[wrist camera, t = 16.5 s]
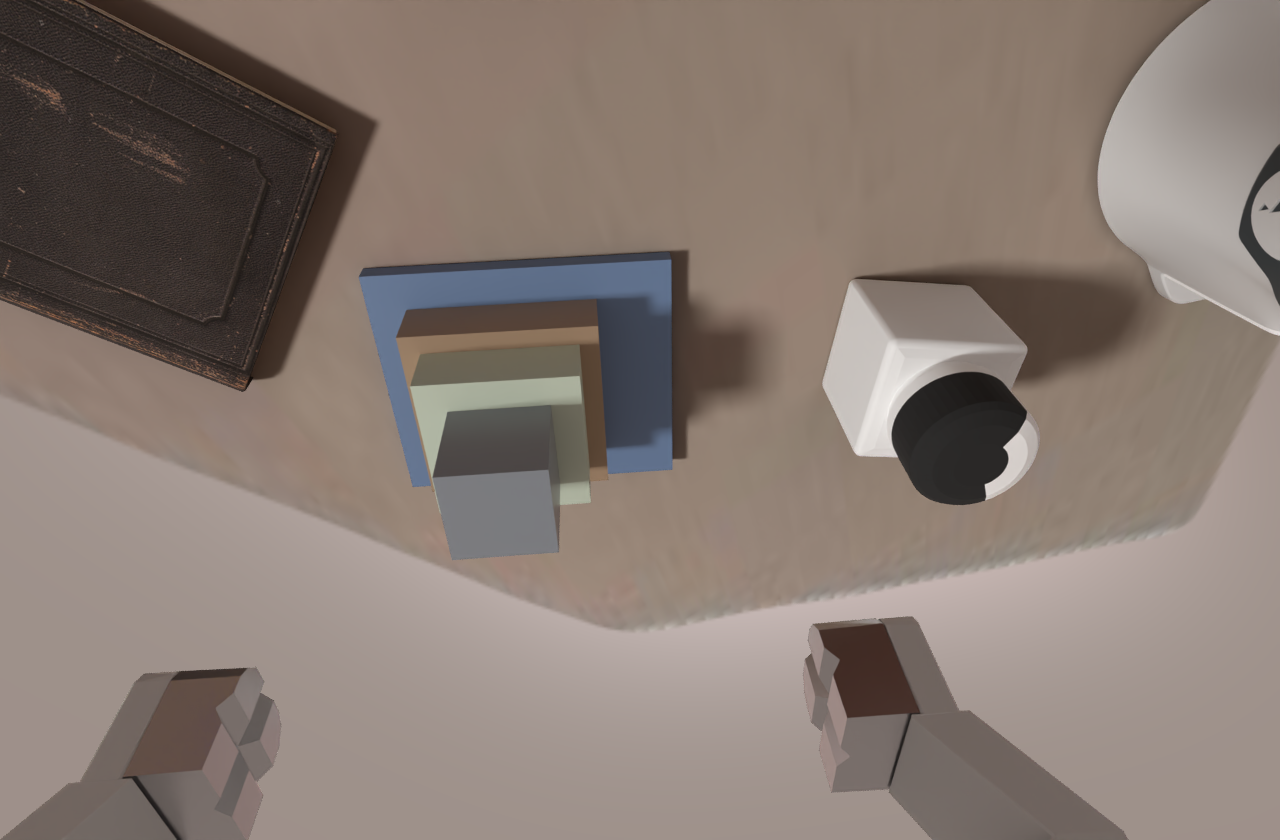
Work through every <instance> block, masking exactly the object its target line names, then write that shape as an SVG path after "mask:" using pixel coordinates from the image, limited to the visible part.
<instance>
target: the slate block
mask: <svg viewBox="0 0 1280 840" xmlns="http://www.w3.org/2000/svg"><path fill="white" fill-rule="evenodd" d="M432 479H433V483H434V487H435V491H436V495H437V500H438V504H439V508H440V512H441V516H442V520H443V524H444V529H445V533H446V537H447V541H448V545H449V549H450V554H451V558H452V560H459V559H473V558H487V557H500V556H514V555H528V554H542V553H555V552H559V523H560V477H559V469H558V460H557V452H556V443H555V435H554V426H553V418H552V409H551V405H544V406H528V407H513V408H498V409H482V410H467V411H452V412H447V416H446V420H445V424H444V429H443V433H442V437H441V442H440V446H439V450H438V455H437V459H436V464H435V468H434V472H433V477H432Z"/></svg>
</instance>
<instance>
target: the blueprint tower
mask: <svg viewBox="0 0 1280 840" xmlns="http://www.w3.org/2000/svg"><path fill="white" fill-rule="evenodd" d="M359 280H360V284H361V288H362V291H363V295H364V299H365V303H366V307H367V311H368V315H369V319H370V322H371V326H372V330H373V334H374V338H375V342H376V346H377V350H378V353H379V357H380V361H381V365H382V369H383V373H384V377H385V381H386V385H387V388H388V392H389V396H390V400H391V404H392V408H393V412H394V416H395V419H396V423H397V427H398V431H399V435H400V439H401V443H402V447H403V450H404V454H405V458H406V462H407V466H408V470H409V474H410V478H411V481H412V485H413V487H419V486H431V487H432V491H433V492H435V494H436V491H435V487H434V483H433V479H432V477H433V472H434V468H435V464H436V459H437V455H438V450H439V446H440V442H441V437H442V433H443V429H444V424H445V420H446V416H447V412H452V411H467V410H482V409H498V408H513V407H528V406H544V405H551V409H552V418H553V426H554V435H555V443H556V452H557V460H558V469H559V477H560V505H565V504H580V503H591V494H590V481H601V480H608V474H614V473H629V472H644V471H659V470H672V301H671V256H670V252H657V253H639V254H620V255H602V256H584V257H566V258H548V259H530V260H512V261H493V262H475V263H457V264H439V265H421V266H403V267H385V268H366V269H363V270H362V272H361V274H360V275H359ZM436 498H437V495H436ZM437 503H438V500H437ZM438 507H439V504H438ZM439 511H440V508H439ZM440 513H441V512H440Z"/></svg>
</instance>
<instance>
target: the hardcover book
mask: <svg viewBox="0 0 1280 840" xmlns="http://www.w3.org/2000/svg"><path fill="white" fill-rule="evenodd" d="M336 132H337V130H336V129H334V128H332V127H330V126H328V125H326V124H324V123H322V122H320V121H318V120H316V119H314V118H312V117H310V116H308V115H306V114H304V113H302V112H300V111H298V110H296V109H295V108H293V107H291V106H289V105H287V104H285V103H283V102H281V101H279V100H277V99H275V98H273V97H271V96H269V95H267V94H265V93H263V92H261V91H259V90H257V89H255V88H254V87H252V86H250V85H248V84H246V83H244V82H242V81H240V80H238V79H236V78H234V77H232V76H230V75H228V74H226V73H224V72H222V71H220V70H218V69H216V68H214V67H213V66H211V65H209V64H207V63H205V62H203V61H201V60H199V59H197V58H195V57H193V56H191V55H189V54H187V53H185V52H183V51H181V50H179V49H177V48H175V47H174V46H172V45H170V44H168V43H166V42H164V41H162V40H160V39H158V38H156V37H154V36H152V35H150V34H148V33H146V32H144V31H142V30H140V29H138V28H136V27H134V26H133V25H131V24H129V23H127V22H125V21H123V20H121V19H119V18H117V17H115V16H113V15H111V14H109V13H107V12H105V11H103V10H101V9H99V8H97V7H95V6H93V5H92V4H90V3H88V2H86V1H84V0H0V300H2V301H5V302H7V303H10V304H12V305H15V306H18V307H20V308H23V309H26V310H28V311H31V312H33V313H36V314H39V315H41V316H44V317H47V318H49V319H52V320H55V321H57V322H60V323H62V324H65V325H68V326H70V327H73V328H76V329H78V330H81V331H84V332H86V333H89V334H91V335H94V336H97V337H99V338H102V339H105V340H107V341H110V342H113V343H115V344H118V345H120V346H123V347H126V348H128V349H131V350H134V351H136V352H139V353H141V354H144V355H147V356H149V357H152V358H155V359H157V360H160V361H163V362H165V363H168V364H170V365H173V366H176V367H178V368H181V369H184V370H186V371H189V372H192V373H194V374H197V375H199V376H202V377H205V378H207V379H210V380H213V381H215V382H218V383H221V384H223V385H226V386H228V387H231V388H234V389H236V390H239V391H242V392H243V391H245V390H246V389H247V387H248V386H249V384H250V382H251V381H252V379H253V377H251V376H250V375H251V372H252V369H253V367H254V364H255V361H256V358H257V356H258V353H259V350H260V348H261V345H262V342H263V339H264V337H265V334H266V331H267V328H268V326H269V323H270V320H271V317H272V315H273V312H274V309H275V307H276V304H277V301H278V298H279V296H280V293H281V290H282V287H283V285H284V282H285V279H286V276H287V274H288V271H289V268H290V265H291V263H292V260H293V257H294V255H295V252H296V249H297V246H298V244H299V241H300V238H301V235H302V233H303V230H304V227H305V224H306V222H307V219H308V216H309V214H310V211H311V208H312V205H313V203H314V200H315V197H316V194H317V192H318V189H319V186H320V183H321V181H322V178H323V175H324V173H325V170H326V167H327V164H328V162H329V159H330V156H331V153H332V151H333V148H334V145H335V142H336V140H337V137H338V134H337V133H336Z"/></svg>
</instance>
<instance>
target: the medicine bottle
mask: <svg viewBox="0 0 1280 840" xmlns="http://www.w3.org/2000/svg"><path fill="white" fill-rule="evenodd" d="M1027 351H1028V348H1027V346H1026V345H1025V343H1024V342H1023V341H1022V340H1021V339H1020V338H1019V337H1018V336H1017V335H1016V334H1015V333H1014V332H1013V331H1012V330H1011V329H1010V328H1009V327H1008V325H1007V324H1006V323H1005V322H1004V321H1003V320H1002V319H1001V318H1000V317H999V316H998V315H997V314H996V313H995V312H994V311H993V310H992V309H991V308H990V306H989V305H988V304H987V303H986V302H985V301H984V300H983V299H982V298H981V297H980V296H979V295H978V294H977V293H976V292H975V291H974V290H973V289H972V288H971V287H970V286H967V285H952V284H935V283H918V282H901V281H884V280H867V279H853V280H852V281H850V283H849V286H848V290H847V293H846V297H845V301H844V304H843V308H842V312H841V316H840V319H839V323H838V327H837V330H836V334H835V338H834V341H833V345H832V349H831V353H830V356H829V360H828V364H827V367H826V371H825V375H824V378H823V388H824V390H825V392H826V394H827V396H828V398H829V400H830V403H831V405H832V407H833V409H834V411H835V413H836V415H837V417H838V419H839V421H840V423H841V425H842V427H843V430H844V432H845V434H846V436H847V438H848V440H849V442H850V444H851V446H852V448H853V450H854V452H855V453H856V454H857V455H858V456H874V457H898V458H899V460H900V461H901V463H902V465H903V467H904V469H905V471H906V472H907V474H908V476H909V478H910V480H911V481H912V483H913V485H914V486H915V488H916V489H917V490H918V491H919V492H920V493H921V494H922V495H923V496H925V497H926V498H928V499H930V500H933V501H936V502H939V503H944V504H951V505H967V504H973V503H978V502H982V501H985V500H988V499H990V498H993V497H995V496H997V495H999V494H1001V493H1003V492H1004V491H1006V490H1008V489H1009V488H1010V487H1012V486H1013V485H1014V484H1016V483H1017V482H1018V481H1019V480H1020V479H1021V478H1022V477H1023V476H1024V475H1025V473H1026V472H1027V471H1028V469H1029V468H1030V467H1031V465H1032V463H1033V461H1034V459H1035V456H1036V454H1037V451H1038V448H1039V442H1040V433H1039V428H1038V425H1037V423H1036V421H1035V419H1034V418H1033V416H1032V415H1031V414H1030V413H1029V412H1028V410H1027V409H1026V408H1025V407H1024V406H1023V404H1022V403H1021V402H1020V401H1019V400H1018V398H1017V397H1016V396H1015V395H1014V394H1013V392H1012V391H1011V388H1012V386H1013V384H1014V382H1015V379H1016V377H1017V375H1018V372H1019V370H1020V368H1021V366H1022V363H1023V361H1024V359H1025V356H1026V354H1027Z"/></svg>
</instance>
